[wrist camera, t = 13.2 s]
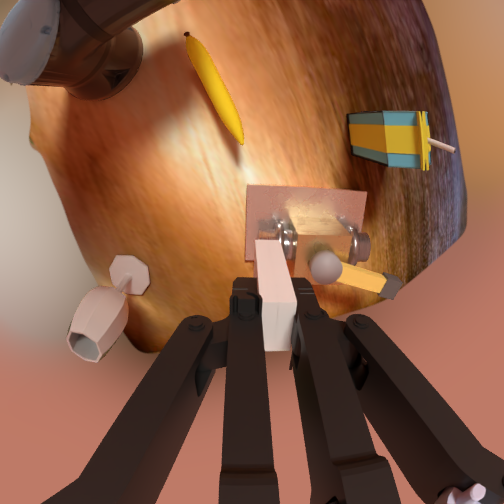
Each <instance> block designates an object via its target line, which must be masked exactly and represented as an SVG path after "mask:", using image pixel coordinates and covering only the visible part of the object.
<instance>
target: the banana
mask: <svg viewBox="0 0 504 504" xmlns="http://www.w3.org/2000/svg"><path fill="white" fill-rule="evenodd" d="M189 33H190V32H185V33H184V36H186V50H187V53H188V56H189V58H190V61H191V62H192V64H193V66H194V68H195V70H196V72H197V74H198V76H199V78H200V80H201V82H202V84H203V86H204V88H205V90H206V92H207V94H208V96H209V98H210V100H211V102H212V104H213V106H214V107H215V109H216V111H217V113H218V115H219V117H220V118H221V120H222V122H223V123H224V125H225V126H226V128H227V129H228V130H229V131H230V133H231V134H232V135H233V136H234V138H235V139H236V140H237V141H238V142H239V143H240V145H243V144H244V133H243V128H242V123H241V120H240V117H239V114H238V111H237V109H236V107H235V104H234V102H233V100H232V98H231V96H230V94H229V92H228V90H227V88H226V86H225V84H224V82H223V80H222V78H221V76H220V74H219V72H218V70H217V68H216V66H215V64H214V62H213V60H212V58H211V57H210V55H209V53H208V51H207V50H206V48H205V47H204V46H203V44H202V43H201V42H200V41H198V40H197V39H196V38H194V37H192V36H190V34H189Z"/></svg>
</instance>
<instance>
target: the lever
mask: <svg viewBox="0 0 504 504" xmlns="http://www.w3.org/2000/svg"><path fill="white" fill-rule="evenodd" d="M309 269H310V272H311V274H312V277H313V279H314V280H315V281H316V282H317V283H319V284H322V285H328V284H331V283H334V282H335V281H338V282H341V283H345V284H348V285H352V286H355V287H359V288H363V289H366V290H370V291H373V292H376V293H377V294H378V296H380V297H384V298H388V299H391V300H393V299H394V297H395V296H396V294H397V292H398V290H399V289H400V287H401V285H402V282H401V280H400V279H399V278H398V277H397V276H394V275H391V274H388V273H385V272H383V274H378V273H375V272H372V271H369V270H366V269H363V268H360V267H356V266H353V265H350V264H347V263H344V262H341V261H340V260H339V258H338V257H337V255H336V254H335V253H334V252H332V251H330V250H322V251H319V252H317V253H315V254H314V255H313V256H312V258H311V259H310V262H309Z"/></svg>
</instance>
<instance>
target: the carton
mask: <svg viewBox="0 0 504 504" xmlns="http://www.w3.org/2000/svg"><path fill="white" fill-rule="evenodd" d="M347 121H348V128H349V136H350V145H351V154H352V155H353V156H356V157H360V158H363V159H366V160H369V161H372V162H375V163H378V164H381V165H384V166H387V167H399V168H415V169H422V170H423V171H424V170H429V165H431V146H430V144H431V145H434V146H436V147H439V148H441V149H444V150H446V151H449V152H451V153H453V154H454V153H455V150H456V149H455V148H453V147H451V146H448V145H446V144H443V143H441V142H438V141H436V140H433V139H430V132H429V121H428V112H425V111H364V112H360V113H350V114H347Z"/></svg>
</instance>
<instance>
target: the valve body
mask: <svg viewBox="0 0 504 504" xmlns="http://www.w3.org/2000/svg"><path fill="white" fill-rule="evenodd" d="M366 197H367V192H366V191H362V190H352V189H340V188H327V187H312V186H295V185H273V184H247V216H246V257H245V260H254V255H255V240H280V242H281V246H282V249H283V253H284V256H285V260H286V262H287V266H288V270H289V273H290V277H305V278H306V279H307V280H308V281H309V282H310V283H311V285H322V284H319V283H317V282H316V281H315V280H314V279H313V277H312V274H311V272H310V269H309V262H310V259H311V258H312V256H313V255H314V254H315V253H317V252H319V251H322V250H330V251H332V252H334V253H335V254H336V255H337V257H338V258H339V260H340V261H341V262H344V263H347V264H350V265H353V266H355V265H356V263H357V262H366V261H367V260H368V258H369V255H370V249H371V245H370V238H369V236H368V234H367V233H365V232H361V230H362V223H363V217H364V211H365V204H366ZM328 285H343V283H341V282H338V281H335V282H334V283H331V284H328Z"/></svg>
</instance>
